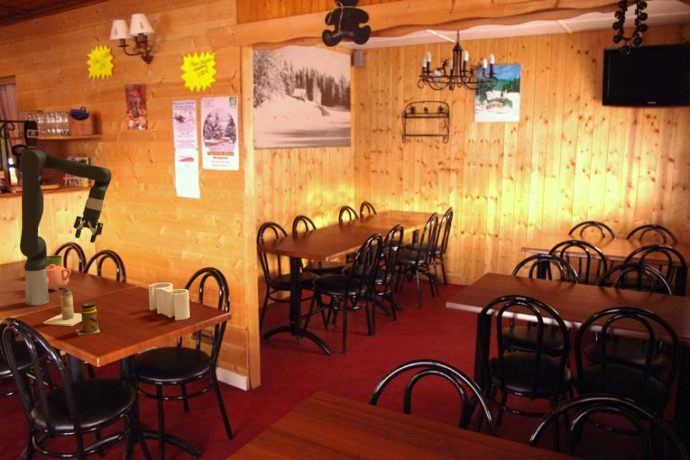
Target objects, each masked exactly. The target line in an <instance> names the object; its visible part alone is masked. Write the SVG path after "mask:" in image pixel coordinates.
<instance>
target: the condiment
mask: <svg viewBox="0 0 690 460" xmlns="http://www.w3.org/2000/svg"><path fill="white" fill-rule="evenodd" d="M80 314H81V315H82V321H81V327H82V328H79V329H75V331H76V334H77V335H78V336H83V335H88V334H90V335H91V334H95V333H101V330H100V328H99V326H98V310H97V309H96V302H85V303H82V304H81V312H80Z"/></svg>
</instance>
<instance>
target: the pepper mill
mask: <svg viewBox="0 0 690 460" xmlns="http://www.w3.org/2000/svg"><path fill="white" fill-rule="evenodd" d="M65 287H66V288H62V291H61V292H60V297H59V298H60V307H61V314H62V319H63V320H69V319H73V318H74V313H75V311H74V298H73V293H72V290H70V288H68V287H67V286H65Z"/></svg>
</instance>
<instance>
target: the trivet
mask: <svg viewBox="0 0 690 460" xmlns="http://www.w3.org/2000/svg"><path fill="white" fill-rule="evenodd" d="M80 322H81V323H82V315H81V312H79V313H78V312H77V313H76V312H74V318H73V319H69V320H63V319H62V313H60V314H58V315H55V316H53V317H50V319H47V320H45V321H43V323H42V324H43V325H54V326H55V325H56V326H67V327H68V326H69V327H73V326H75V325H77V324H79V323H80Z"/></svg>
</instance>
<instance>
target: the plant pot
mask: <svg viewBox="0 0 690 460" xmlns="http://www.w3.org/2000/svg"><path fill="white" fill-rule="evenodd" d="M62 258H63V255H60V254H59V255H58V254H57V255H55V254H54V255H47V263H46V267H48V266H49V265H51V264H55V266H62V260H63V259H62Z"/></svg>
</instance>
